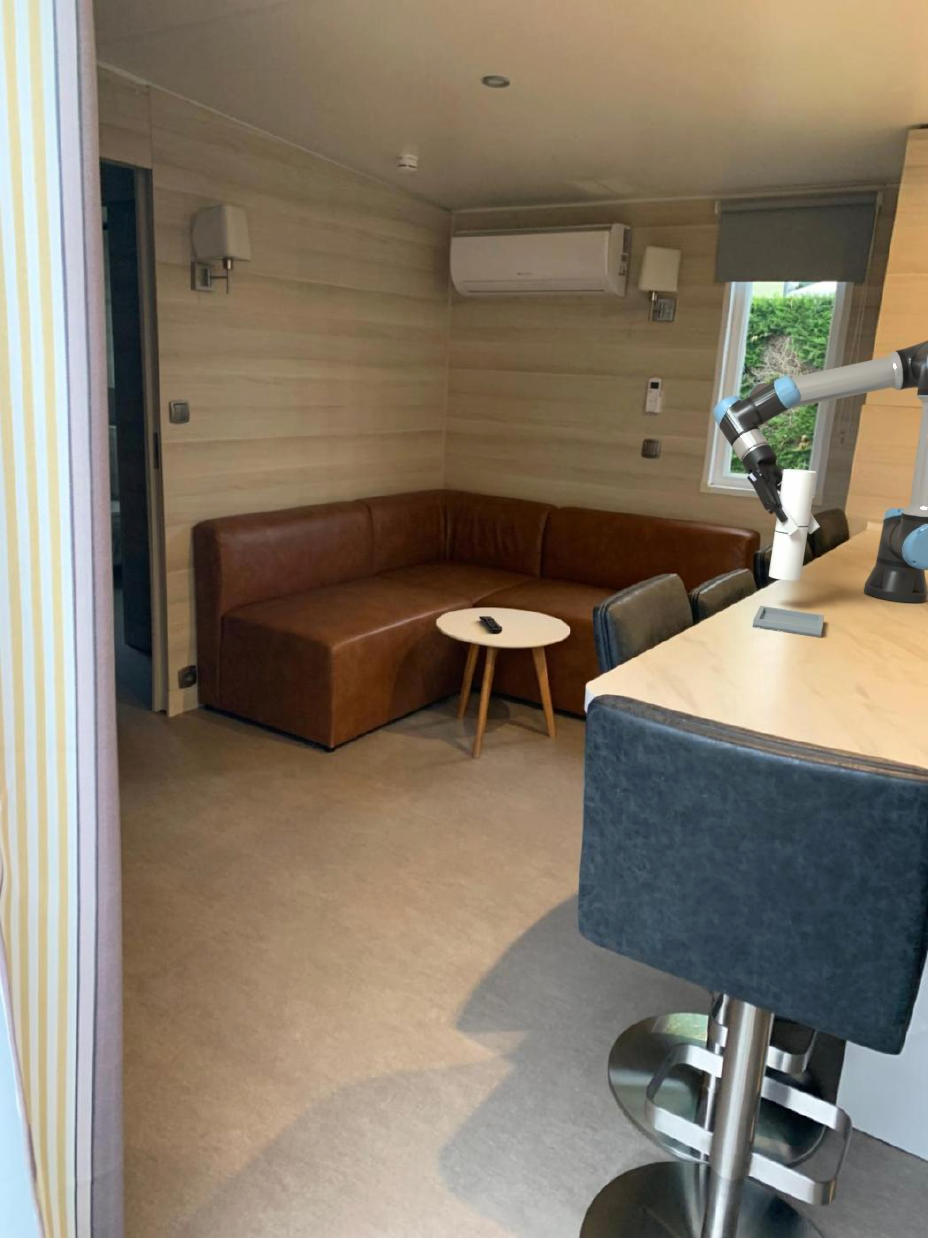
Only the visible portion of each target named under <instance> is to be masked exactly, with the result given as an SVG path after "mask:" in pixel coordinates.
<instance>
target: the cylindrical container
mask: <svg viewBox="0 0 928 1238" xmlns="http://www.w3.org/2000/svg"><path fill="white" fill-rule="evenodd" d="M782 471H783V477H782V482H781V483H782V484H781V483H780V484H781V491H779V498H780V501H781V504H782V506H781V507H783V506H786V508H787V509H788V511H789V513H790V514H791V516H792V517H793V519H794V520H795V522H796V524H797V525H798V527H799V528H800V529H799V530H798V531H797V532H795V533H794V534H793V535H792V536H789V535H788V533H787V531H786V530H785V528H784V527H783V525H782V523H781V522H780V520H779V519H778V517H777V516H776V521H775V528H774V530H775V531H774V536H773V543H772V548H771V549H772V550H771V558H770V564H769V570H768V577H770V578H772V579H777V580H781V581H782V580H783V581H800V580H801V578H802V571H803V564H804V559H805V558H804V557H805V550H806V544H807V538H808V533H809V532H808V525H809V519H810V512H811V513H812V511H811V510H812V504H813V497H814V490H815V484H816V476H817V471H814V470H809V469H808V470H807V469H799V468H798V469H797V468H796V469H795V468H794V469H793V468H786V469H785V468H784V469H783V470H782Z"/></svg>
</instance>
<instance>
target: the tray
mask: <svg viewBox="0 0 928 1238" xmlns="http://www.w3.org/2000/svg"><path fill="white" fill-rule="evenodd" d="M824 619H825V614H818V613H810V612H804V611H798V610H789V609H783V608H777V607H771V606H764V605H759V608H758V610H757V612H756V614H755V616H754V618H753V622H752V628H756V627H760V628H759V629H762V628H767V629H766V630H769V629H773V630H772V631H775V630H779V631H778V632H781V631H783V632H782V633H789V634H793V635H794V634H796V635H802V636H807V635H809V636H808V637H813V636H815V637H814V638H821V637H822V632H823V627H824V621H825V620H824Z"/></svg>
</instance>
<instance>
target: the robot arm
mask: <svg viewBox="0 0 928 1238" xmlns="http://www.w3.org/2000/svg"><path fill="white" fill-rule="evenodd" d="M891 388H893V389H894V390H895V391H901V390H907V389H916V388H917V391H916V392H917V393H916V398H917V399H918V400H920V402H921V403H922V408H921V414H920V415H921V416H920V425H919V431H918V440H917V447H916V456H915V460H914V461H915V462H914V469H913V476H912V477H913V479H912V485H911V493H910V499H909V500H910V501H909V505H908V506H906V507H905V508H897V507H896V508H895V507H890V508H888V509H887V510H885V515H884V518H883V520H882V523H883V524H882V528H881V532H880V533H881V534H880V540H879V545H878V550H877V555H876V556H877V557H876V561H875V565H874V567H873V569H872V570H871V572H870V574H869V575H868V577H867V579H866V580H865V583H864V586H863V591H864V592H863V593H864V594H866V595H868V596H870V597H874V598H877V599H881V600H886V601H890V602H897V603H898V602H899V603H908V604H911V603H912V604H913V603H914V604H915V603H916V604H917V603H919V604H921V603H924V602H926V601H927V597H928V585H927V579H926V573H925V571H928V340H926V341H922V342H919V343H917V344H914V345H912V346H909V347H904V348H901V349H897V350H892V351H891V352H890V354H889V355H888V356H885V357H879V358H875V359H871V360H867V361H861V362H856V363H853V364H852V363H851V364H848V365H844V366H843V365H842V366H840V367H835V368H830V369H825V370H821V371H816V372H811V373H808V374H803V375H799V376H794V377H791V376H790V375H783V376H782V377H780V378H776V379H775V380H774V381H772V382H767V383H766V382H763V383H760V384H757V385H756V386H754V387H752V388H751V390H750V391H749V393H748V395H747V397H746V398H744V399H742V398H740V396H738V395H731V396H729V397H725V398H723V399H722V400H721V401H719V402H718V403H717V404H716V405H715V406H714V409H713V411H712V415H713V418H714V420H715V422H716V425H718V427H719V429H720V431H721V433H722V434H723V435H724V437H725V439H726V440H727V442H728V443H729V445H730V446H731V448H732V449H733V451H734V452H735V454H736V457H738V459H739V461H741V464H742V466H743V467H744V469H745V471H746V472H747V474H748V476H747V477H746V478H747V480H748V481H749V482H750V484H751V485H752V486H753V489H754V490H755V492H756V494H757V496H758V498H759V500H760V502H761V505H762V506H763V508H764V510H766V511H768V514H769V515H773V514H775V516H776V518H777V517H778V519H779V520H780V522H781V523H782V525H783V527H784V528H785V530H786V531H787V533H788V535H789V536H792V535H793V534H794V533H795V532H797V531H798V530H799V529H800V528H799V527H798V525H797V524H796V522H795V520H794V519H793V517H792V516H791V514H790V513H789V511H788V509H787V508H786V506H783V507H781V506H782V504H781V501H780V494H779V492H780V491H781V484H782V477H783V470H781V468H780V467H779V466H778V465H777V460H778V455H777V454H776V452H775V451H774V450H773V448H772V446H771V444H769V443H770V442H769V441H768V439H767V438H766V436H765V435H764V434H763V432H762V430H761V429H760V428H759V427H761V426H762V425H764V424H765V423H767V422H769V421H770V420H772V419H774V418H776V417H777V416H779V415H781V414H783V413H785V412H786V411H788V410H791V409H795V408H799V407H800V408H801V407H805V406H809V405H815V404H818V403H823V402H825V403H826V402H828V401H833V400H838V399H843V398H847V397H852V396H857V395H858V396H859V395H862V394H866V393H871V392H877V391H882V390H886V389H891ZM778 491H779V492H778ZM820 527H821V526H820V524H819V523H818V521H817V520H816V518H815V517H814V515H813V513H812V511H811V512H810V519H809V525H808V532H807V533H808V534H810V535H812V534H813V533H814V532H815V531H817V530H818V529H820Z"/></svg>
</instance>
